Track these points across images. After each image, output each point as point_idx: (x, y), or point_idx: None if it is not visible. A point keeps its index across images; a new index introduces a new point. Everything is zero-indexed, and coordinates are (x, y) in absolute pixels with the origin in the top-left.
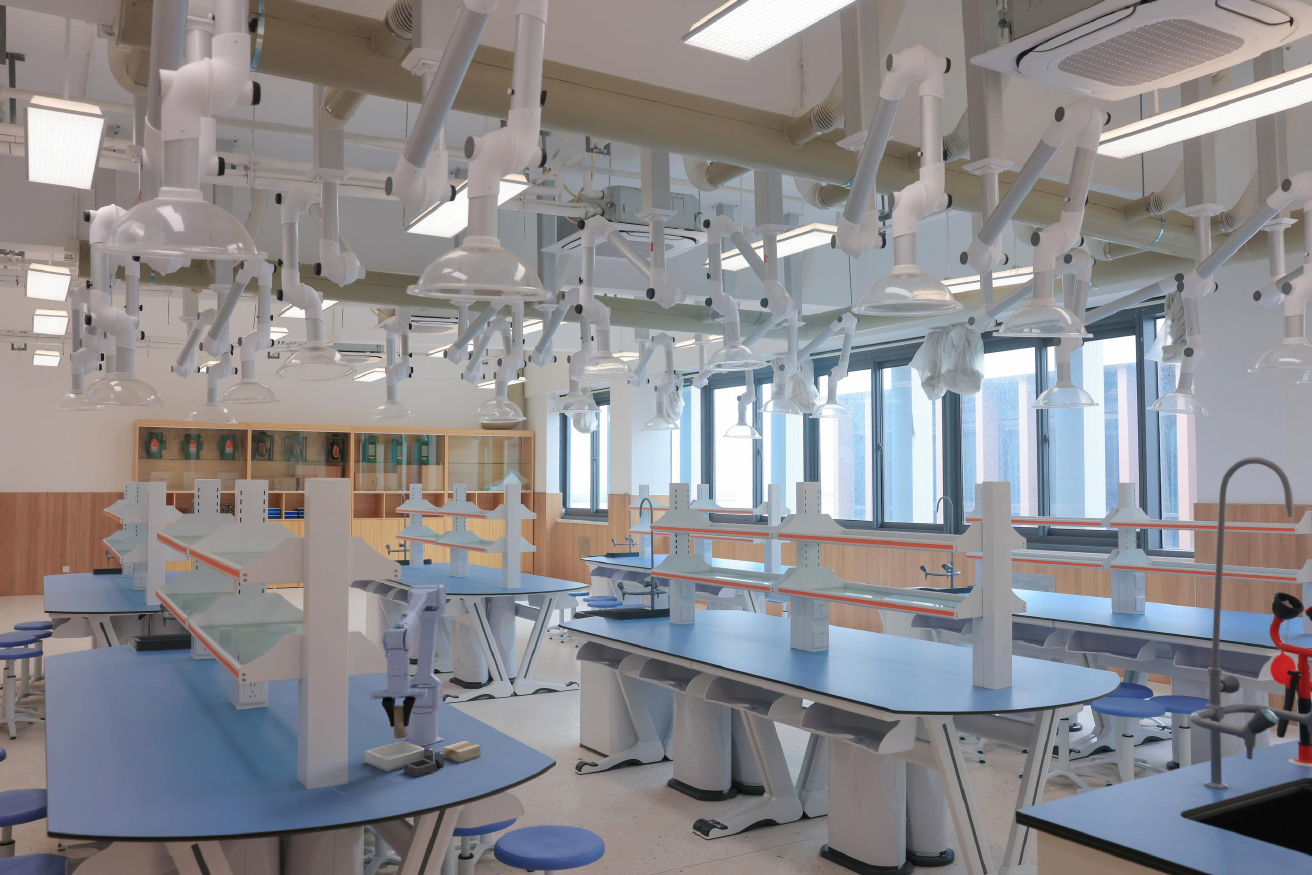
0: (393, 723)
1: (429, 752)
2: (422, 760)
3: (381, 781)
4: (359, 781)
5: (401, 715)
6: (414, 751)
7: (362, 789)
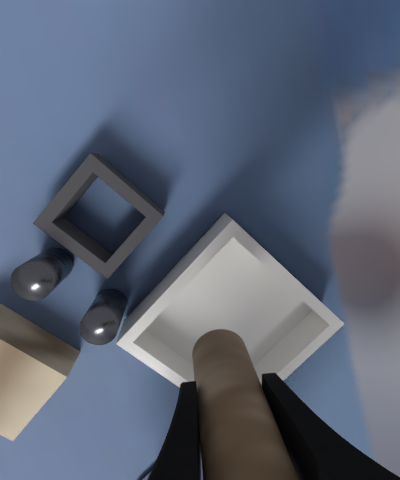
0: (267, 393)
1: (91, 309)
2: (107, 260)
3: (218, 116)
4: (297, 121)
5: (220, 437)
6: (155, 318)
7: (264, 25)
